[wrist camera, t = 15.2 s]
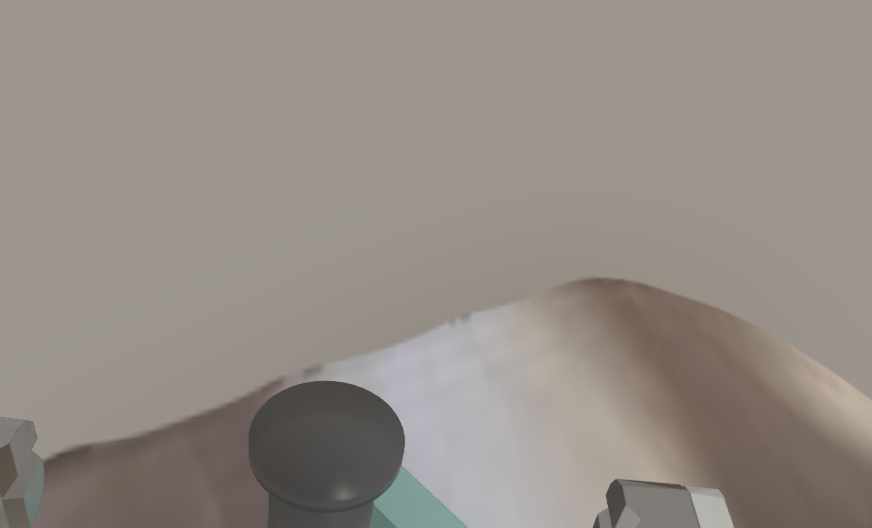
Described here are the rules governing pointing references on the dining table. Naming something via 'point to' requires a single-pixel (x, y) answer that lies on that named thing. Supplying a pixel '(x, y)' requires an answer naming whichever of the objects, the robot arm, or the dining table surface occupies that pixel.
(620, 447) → the dining table surface
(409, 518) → the notched board
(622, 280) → the dining table surface
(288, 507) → the door knob
